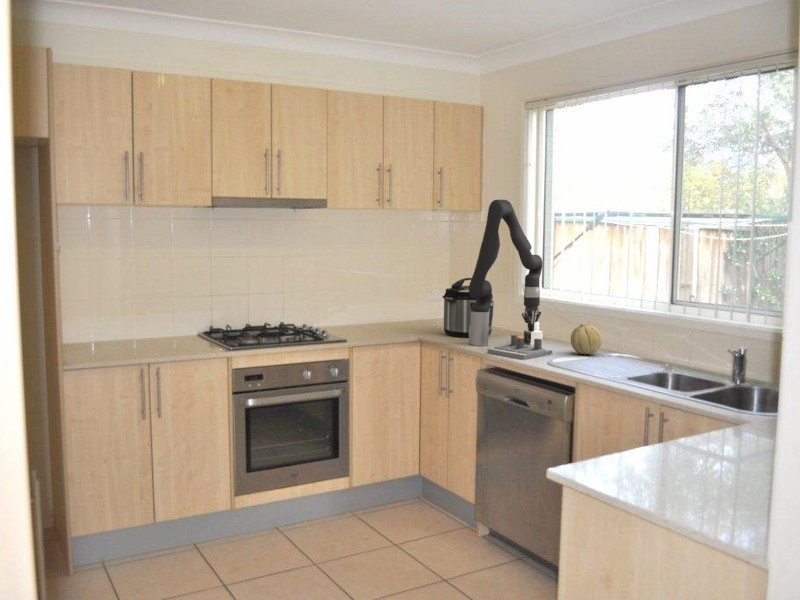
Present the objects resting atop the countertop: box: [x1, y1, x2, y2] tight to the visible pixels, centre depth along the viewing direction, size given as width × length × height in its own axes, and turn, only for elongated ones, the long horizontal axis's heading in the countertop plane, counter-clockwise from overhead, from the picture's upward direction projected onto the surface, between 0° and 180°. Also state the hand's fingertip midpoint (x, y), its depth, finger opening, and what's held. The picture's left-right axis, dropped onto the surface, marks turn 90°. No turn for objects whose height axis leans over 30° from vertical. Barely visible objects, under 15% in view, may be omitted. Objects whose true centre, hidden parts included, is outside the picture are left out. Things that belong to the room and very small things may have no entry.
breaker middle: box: [516, 335, 525, 349], centre depth 362 cm, size 3×3×6 cm
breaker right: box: [533, 338, 543, 351], centre depth 360 cm, size 3×3×6 cm
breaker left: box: [509, 334, 519, 346], centre depth 370 cm, size 3×3×6 cm
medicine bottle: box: [523, 320, 544, 346], centre depth 392 cm, size 7×7×12 cm
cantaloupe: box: [570, 323, 603, 356], centre depth 363 cm, size 15×15×15 cm
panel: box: [486, 343, 553, 361], centre depth 362 cm, size 22×22×3 cm
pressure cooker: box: [441, 277, 494, 338], centre depth 419 cm, size 30×28×32 cm
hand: (531, 331), depth 367 cm, fingers closed
